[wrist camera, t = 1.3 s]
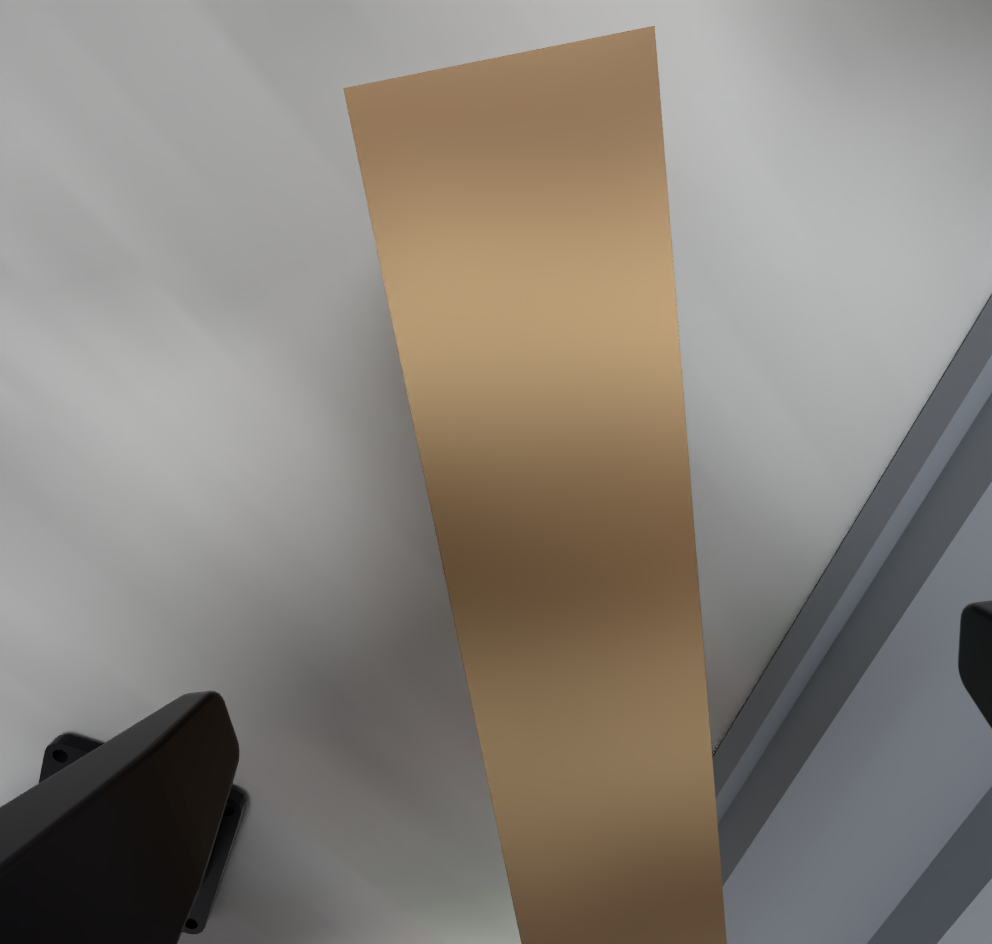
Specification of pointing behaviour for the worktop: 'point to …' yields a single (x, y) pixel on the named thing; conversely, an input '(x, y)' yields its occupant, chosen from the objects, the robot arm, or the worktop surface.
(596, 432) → the tan rectangular block
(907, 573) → the rail
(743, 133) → the worktop surface
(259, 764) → the worktop surface
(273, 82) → the worktop surface
